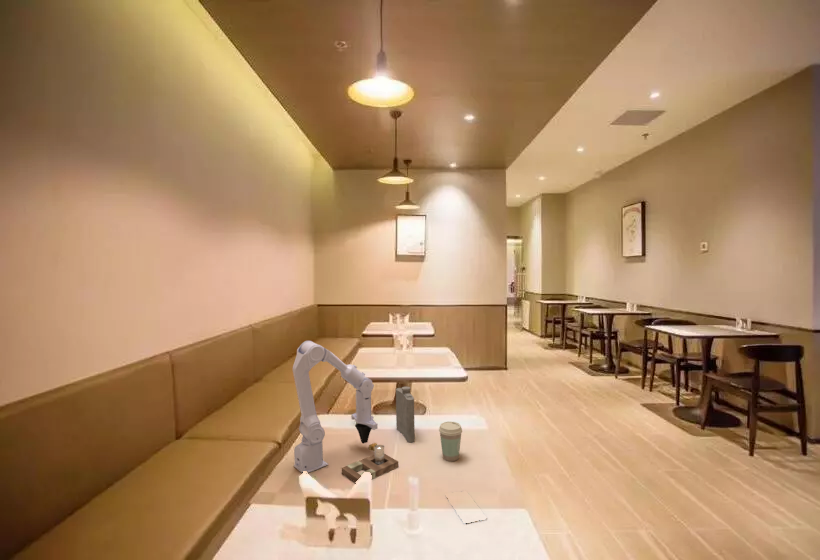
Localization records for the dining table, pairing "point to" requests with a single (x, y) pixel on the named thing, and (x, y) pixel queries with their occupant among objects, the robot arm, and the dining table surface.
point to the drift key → (372, 446)
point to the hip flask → (405, 413)
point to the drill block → (369, 467)
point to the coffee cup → (450, 440)
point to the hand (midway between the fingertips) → (364, 442)
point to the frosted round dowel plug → (379, 454)
